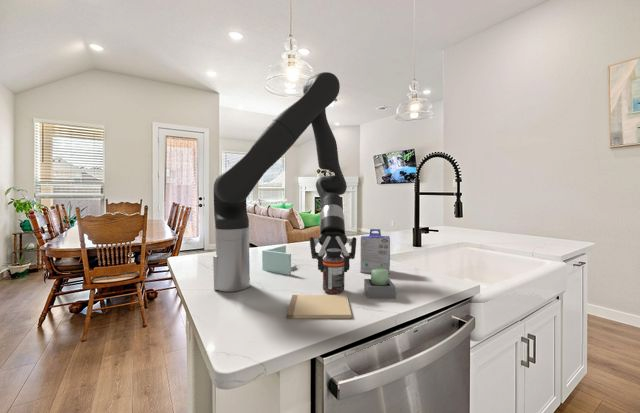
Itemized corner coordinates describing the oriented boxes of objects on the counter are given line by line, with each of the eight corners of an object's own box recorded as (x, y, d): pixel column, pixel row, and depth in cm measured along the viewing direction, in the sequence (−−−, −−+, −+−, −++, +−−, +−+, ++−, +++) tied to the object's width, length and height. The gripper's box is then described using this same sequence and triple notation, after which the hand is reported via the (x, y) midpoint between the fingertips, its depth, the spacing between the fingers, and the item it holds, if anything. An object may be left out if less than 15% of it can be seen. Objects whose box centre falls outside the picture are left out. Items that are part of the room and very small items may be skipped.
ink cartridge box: (389, 270, 101) (389, 229, 100) (390, 274, 95) (390, 231, 95) (361, 268, 103) (361, 228, 102) (360, 273, 97) (360, 230, 97)
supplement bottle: (321, 286, 82) (321, 247, 81) (342, 286, 83) (342, 247, 82) (323, 294, 76) (323, 252, 76) (346, 293, 77) (346, 251, 76)
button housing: (368, 298, 74) (368, 287, 74) (364, 289, 81) (364, 278, 81) (395, 298, 74) (395, 287, 73) (389, 289, 81) (389, 278, 80)
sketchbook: (286, 318, 62) (286, 314, 62) (292, 298, 74) (292, 294, 74) (351, 318, 62) (351, 314, 62) (346, 297, 74) (346, 294, 74)
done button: (372, 285, 75) (372, 272, 75) (369, 280, 79) (369, 267, 79) (389, 285, 75) (389, 272, 75) (385, 280, 79) (385, 267, 79)
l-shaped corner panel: (289, 276, 95) (289, 254, 95) (262, 271, 102) (262, 250, 101) (309, 268, 106) (309, 248, 105) (283, 264, 112) (283, 245, 112)
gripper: (308, 214, 87) (306, 263, 75) (356, 214, 87) (361, 263, 75) (309, 229, 92) (307, 277, 81) (354, 229, 92) (359, 277, 81)
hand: (333, 270), depth 78 cm, fingers closed on supplement bottle, 6 cm apart
